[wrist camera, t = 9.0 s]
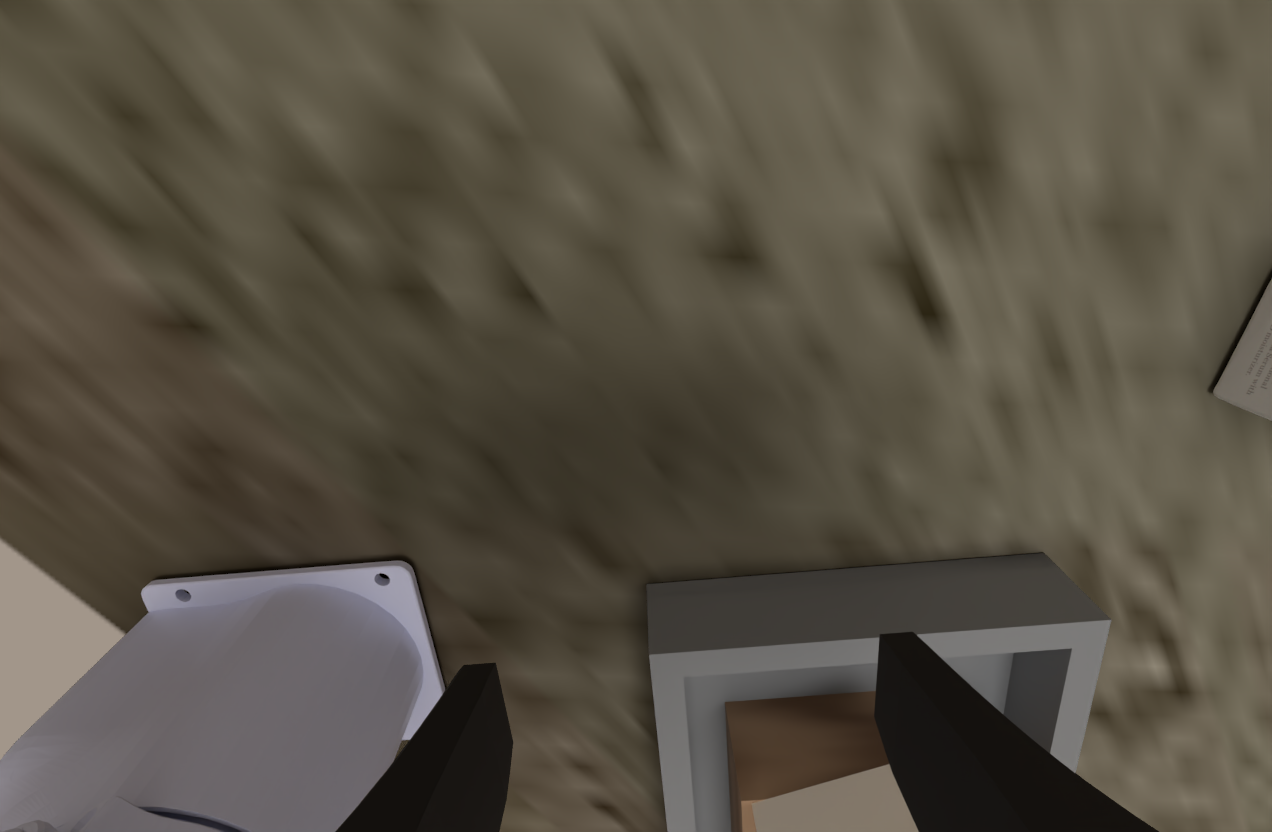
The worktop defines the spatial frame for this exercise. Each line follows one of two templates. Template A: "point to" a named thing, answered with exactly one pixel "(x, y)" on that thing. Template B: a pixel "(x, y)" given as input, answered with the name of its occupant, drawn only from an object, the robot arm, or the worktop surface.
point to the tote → (862, 653)
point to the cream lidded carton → (839, 806)
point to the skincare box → (1251, 364)
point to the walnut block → (796, 746)
